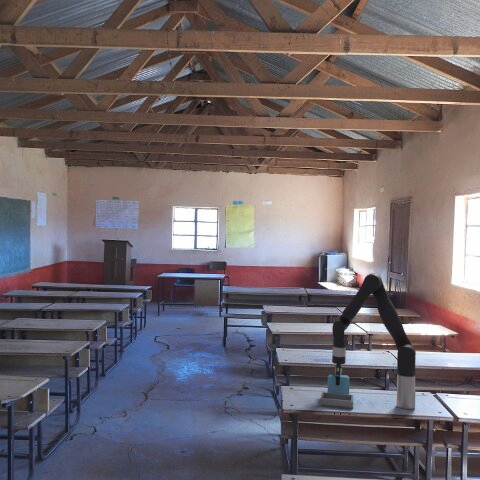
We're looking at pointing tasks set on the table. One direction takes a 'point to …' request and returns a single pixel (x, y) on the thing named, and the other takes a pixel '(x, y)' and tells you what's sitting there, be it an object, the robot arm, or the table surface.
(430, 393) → the table surface
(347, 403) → the holder tray
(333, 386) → the light blue flat block
